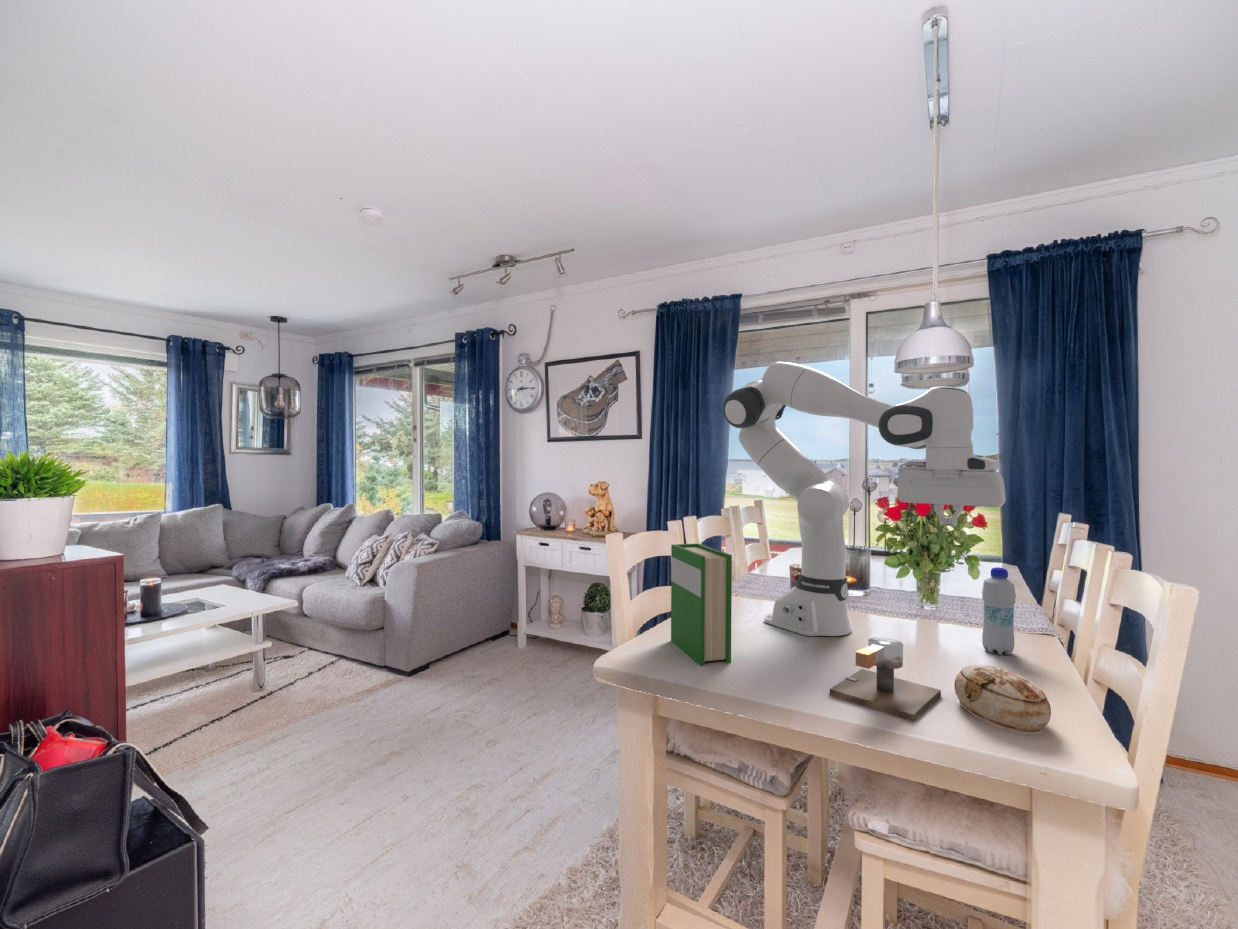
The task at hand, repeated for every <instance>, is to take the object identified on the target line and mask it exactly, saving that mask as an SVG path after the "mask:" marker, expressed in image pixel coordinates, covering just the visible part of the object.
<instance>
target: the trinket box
mask: <svg viewBox="0 0 1238 929" xmlns="http://www.w3.org/2000/svg"><path fill="white" fill-rule="evenodd" d="M954 692H955V695H956V697H957V699H958V700H959V703H960V705H961V706H962V708H963V709H964V710H966V711H967V712H968V713H970V715H972V716H973V717H975V718H977V719H978V720H981V721H983V722H984V723H987V724H988V725H990V726H994V727H996V728H999V729H1002V730H1005V729H1006V731H1008V732H1013V733H1016V732H1017V733H1018V734H1023V735H1040V734H1042V733H1043V732H1044V729H1045V727H1046V726H1048V724H1049V722H1050V720H1051V717H1052V710H1051V705H1050V702H1049V700H1048V698H1047V696H1046V693H1045V692H1044V691H1043V690H1042V689H1041V688H1040V687H1038V686H1037V685H1036V684H1034V683H1033V682H1031V681H1030V680H1029V679H1026V678H1025V677H1023V676H1021V675H1019V674H1017V673H1015V672H1012V671H1010V670H1007V669H1005V668H1002V667H998V666H994V665H987V664H971V665H967V666H963V667H962V669H961V670H959V671H958V673H956V676H955V679H954Z"/></svg>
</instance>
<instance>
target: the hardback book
mask: <svg viewBox="0 0 1238 929" xmlns="http://www.w3.org/2000/svg"><path fill="white" fill-rule="evenodd" d="M670 549H671V551H670V553H671V554H670V555H671V557H670V558H671V562H670V563H671V566H670V568H671V570H670V574H671V575H670V576H671V577H670V578H671V579H670V581H671V582H670V584H671V586H670V590H671V591H670V594H671V595H670V596H671V597H670V641H671V642H672V643H673V644H674V645H675V646H677V647H678V649H680V650H681V651H682V652H683V653H685V655H687V656H688V657H689V658H691V660H693V661H694V662H695V663H696V664H697V665H699V666H700V667H703V666H705V662H711V661H712V662H713V661H724V662H725V663H726V664H731V663H732V596H733V594H732V590H733V589H732V588H733V587H732V585H733V582H732V580H733V578H732V577H733V576H732V573H733V572H732V570H733V569H732V568H733V565H732V564H733V563H732V562H733V560H732V558H733V557H732V556H733V555H732V554H730V553H728V552H727V553H726V552H724V551H721V550H719V549H715V548H712V547H710V546H707V545H704V544H703V543H702V544H701V543H681V544H680V543H678V544H671V548H670Z"/></svg>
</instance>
